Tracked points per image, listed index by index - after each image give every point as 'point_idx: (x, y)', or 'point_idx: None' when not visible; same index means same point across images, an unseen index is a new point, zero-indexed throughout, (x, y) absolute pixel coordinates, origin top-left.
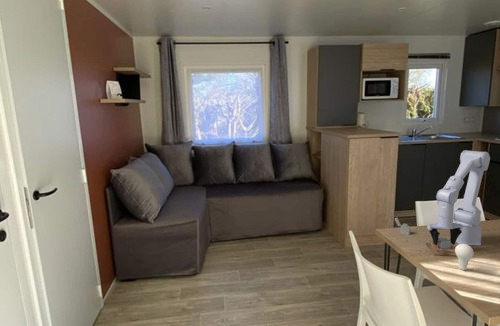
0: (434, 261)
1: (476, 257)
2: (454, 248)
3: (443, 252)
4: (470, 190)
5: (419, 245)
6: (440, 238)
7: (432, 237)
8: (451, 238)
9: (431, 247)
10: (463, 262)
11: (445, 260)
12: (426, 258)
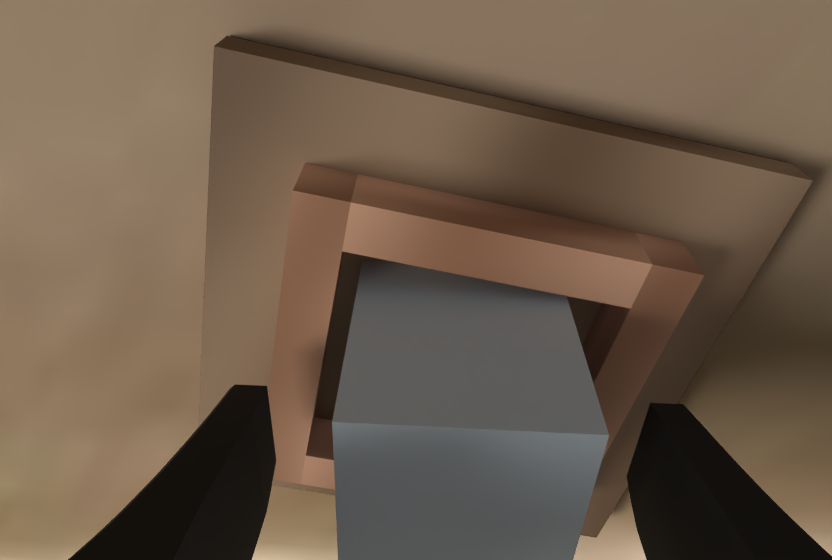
0: None
1: None
2: (677, 356)
3: None
4: None
5: (50, 49)
6: (413, 462)
7: (146, 509)
8: (694, 525)
9: (246, 273)
10: None
11: (297, 550)
12: (58, 494)
